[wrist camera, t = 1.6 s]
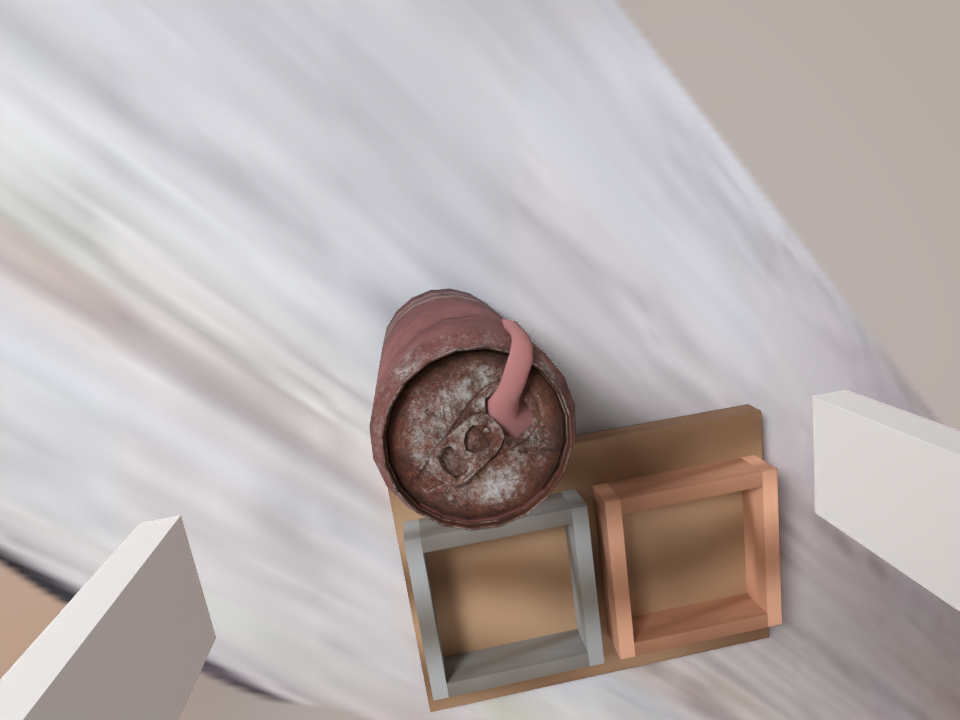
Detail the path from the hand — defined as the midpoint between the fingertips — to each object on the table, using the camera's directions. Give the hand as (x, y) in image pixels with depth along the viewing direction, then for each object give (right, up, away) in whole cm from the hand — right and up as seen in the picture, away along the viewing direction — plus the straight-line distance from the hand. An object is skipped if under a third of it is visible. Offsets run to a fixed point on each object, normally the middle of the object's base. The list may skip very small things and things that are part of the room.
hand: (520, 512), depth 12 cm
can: (-3, +4, +18) cm, 19 cm away
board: (+5, -8, +21) cm, 23 cm away
